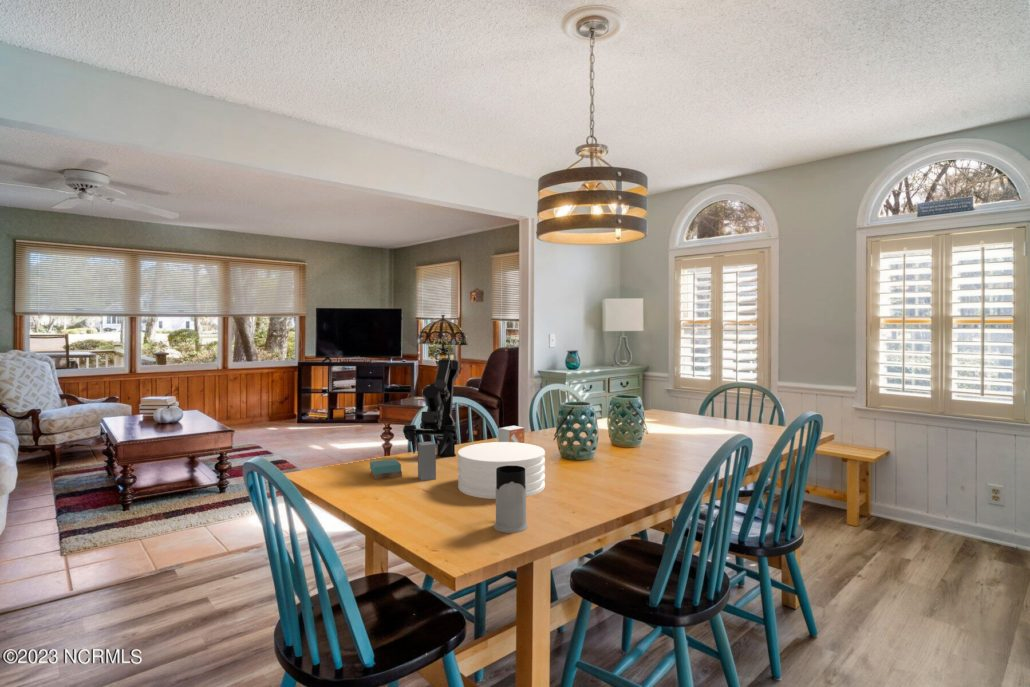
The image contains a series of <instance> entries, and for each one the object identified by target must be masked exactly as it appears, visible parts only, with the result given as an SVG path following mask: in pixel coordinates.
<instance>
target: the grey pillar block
mask: <svg viewBox="0 0 1030 687" xmlns="http://www.w3.org/2000/svg"><path fill="white" fill-rule="evenodd" d="M436 444H437V443H435V442H433V440H431V441H430V440H429V441H419V442H418V441H417V478H418V479H419V480H420V481H421V482H426V481H434V480H437V462H436V461H437V454H436Z"/></svg>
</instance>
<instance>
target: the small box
mask: <svg viewBox="0 0 1030 687" xmlns="http://www.w3.org/2000/svg"><path fill="white" fill-rule="evenodd" d="M497 433H498V437H497V438H498V441H497V442H517V443H525V427H523V426H518V425H509V426H504V427H499V428H498V432H497Z"/></svg>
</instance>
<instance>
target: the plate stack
mask: <svg viewBox="0 0 1030 687" xmlns="http://www.w3.org/2000/svg"><path fill="white" fill-rule="evenodd" d="M545 456H546V451H545V449H544V448H543V447H541V446H539V445H534V444H531V443H525V442H524V443H517V442H498V441H495V442H493V441H491V442H482V443H475V444H471V445H466V446H463V447H461V448H460V449H459V450H458V451H457V458H458V459H457V465H458V467H457V472H458V474H457V480H458V482H457V488H458V490H459V491H460V492H462V493H463V494H465V495H468V496H470V497H474V498H480V499H489V500H496V469H497V468H498V467H501V466H521V467H524V468H525V486H526V497H530V496H534V495H537V494H539V493H540V492H542V491H544V489H545V488H546V482H545V480H546V474H545V472H546V466H545V464H546V458H545Z"/></svg>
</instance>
